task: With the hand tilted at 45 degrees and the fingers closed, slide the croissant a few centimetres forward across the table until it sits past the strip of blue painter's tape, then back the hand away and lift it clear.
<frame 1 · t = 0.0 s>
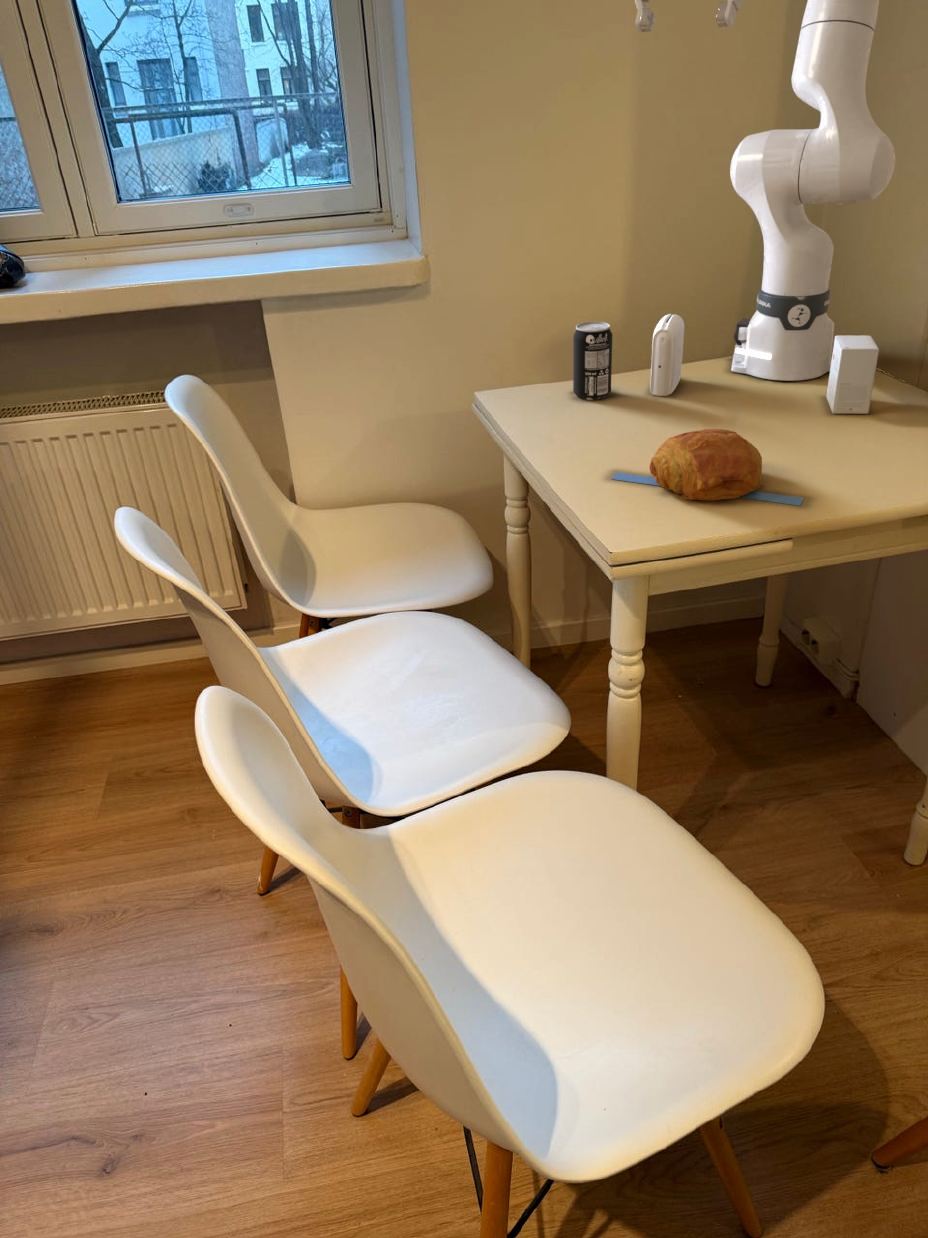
hand: (682, 26, 103), 54 cm above the table, tool tilted 30°, fingers open, 8 cm apart
beverage can: (592, 395, 165), on the table
photo printer: (665, 388, 166), on the table
croissant: (707, 484, 130), on the table, touching tape line
tape line: (704, 488, 129), on the table
small box: (846, 407, 153), on the table
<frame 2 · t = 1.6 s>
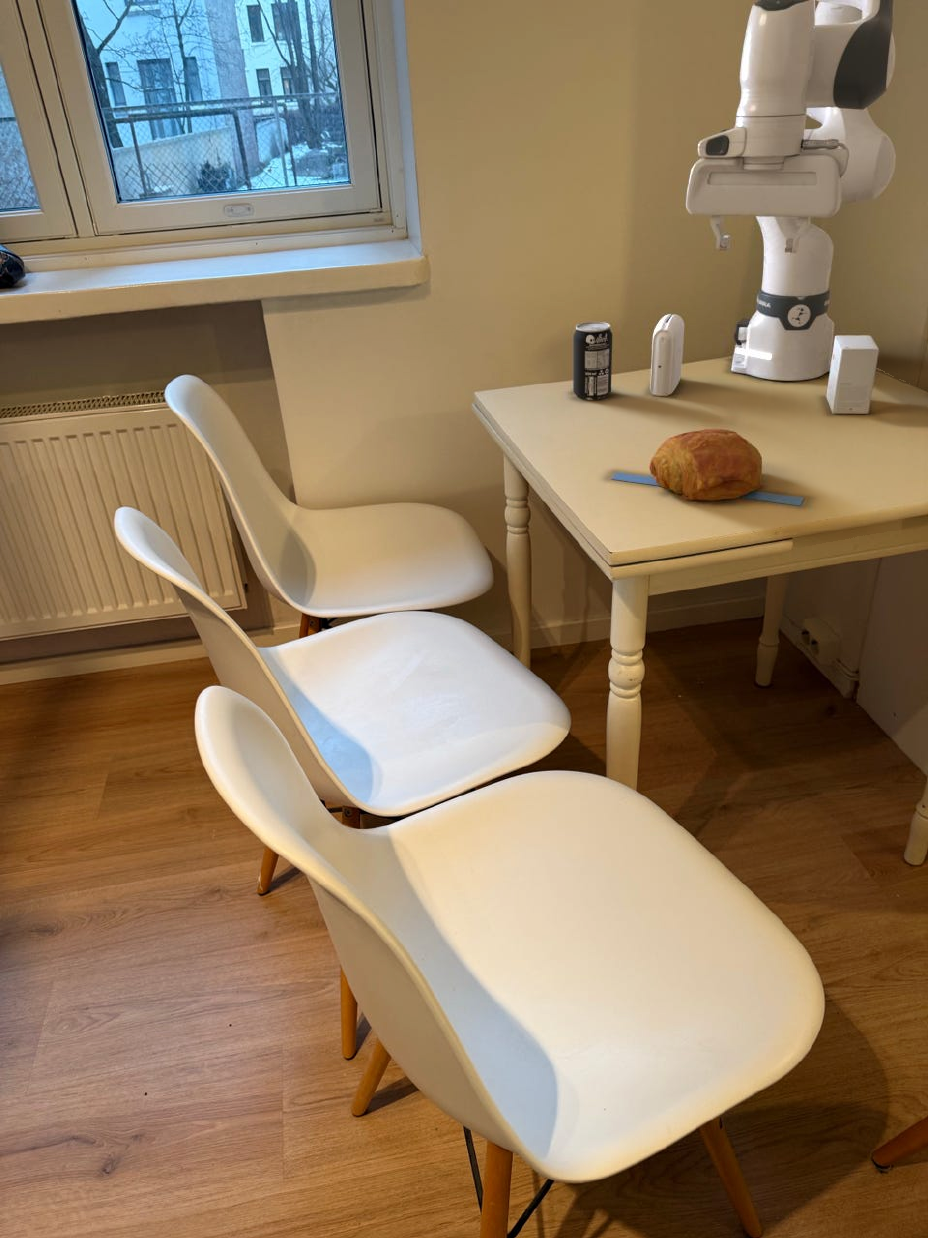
hand: (756, 250, 131), 27 cm above the table, tool pointing down, fingers open, 8 cm apart
nothing on the table moved.
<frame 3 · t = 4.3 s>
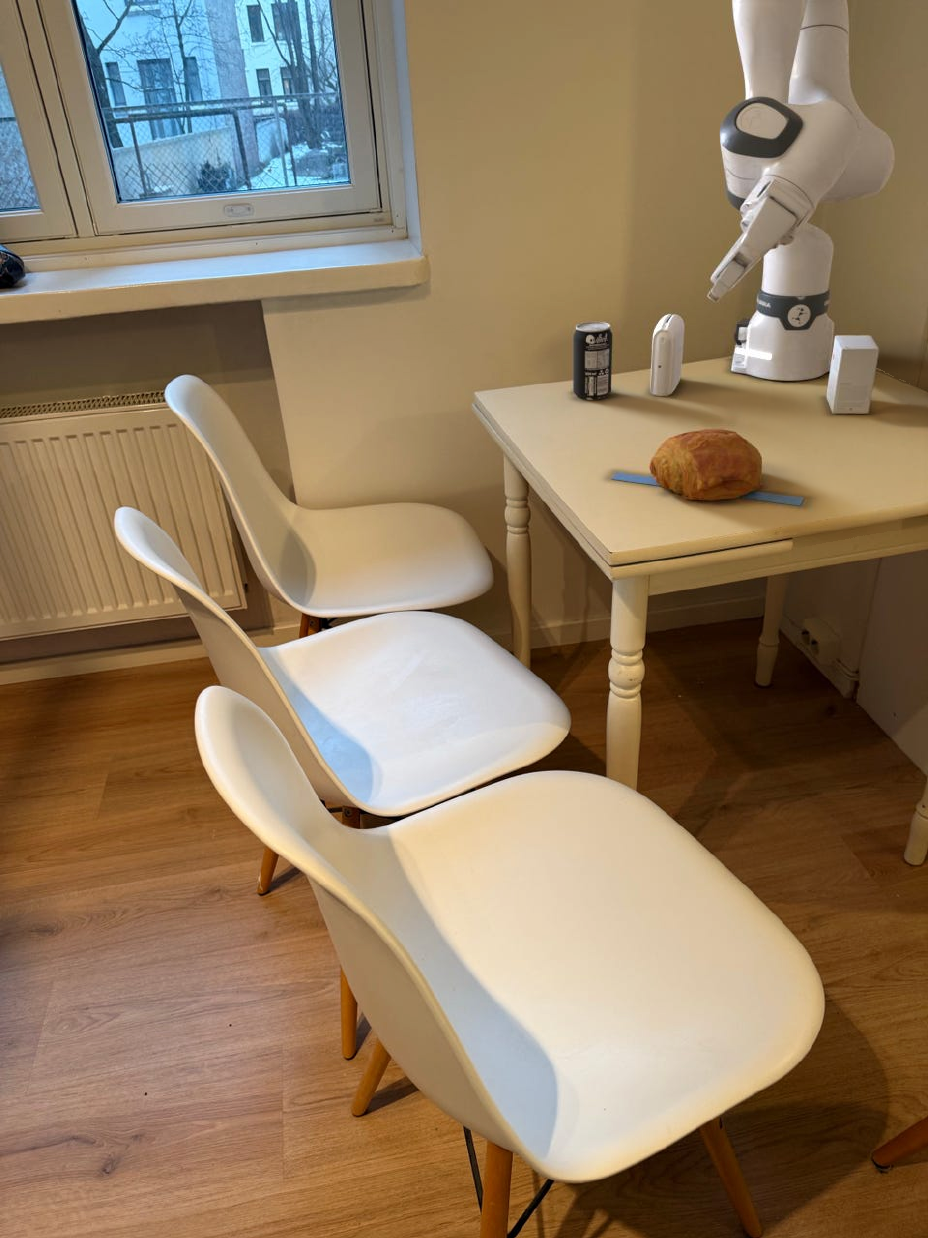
hand: (713, 297, 133), 21 cm above the table, tool tilted 45°, fingers closed
nothing on the table moved.
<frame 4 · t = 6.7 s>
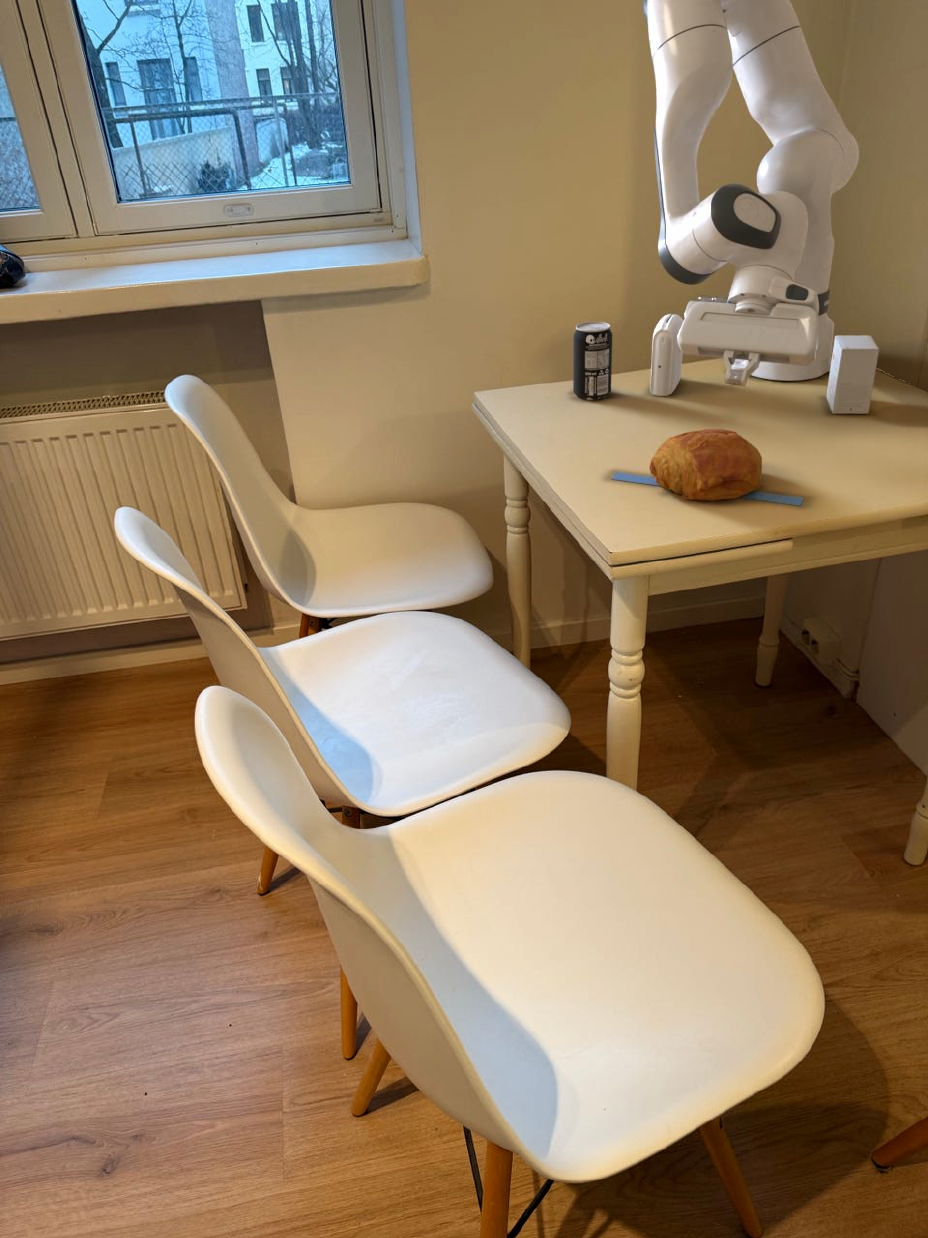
hand: (734, 383, 138), 9 cm above the table, tool tilted 45°, fingers closed
nothing on the table moved.
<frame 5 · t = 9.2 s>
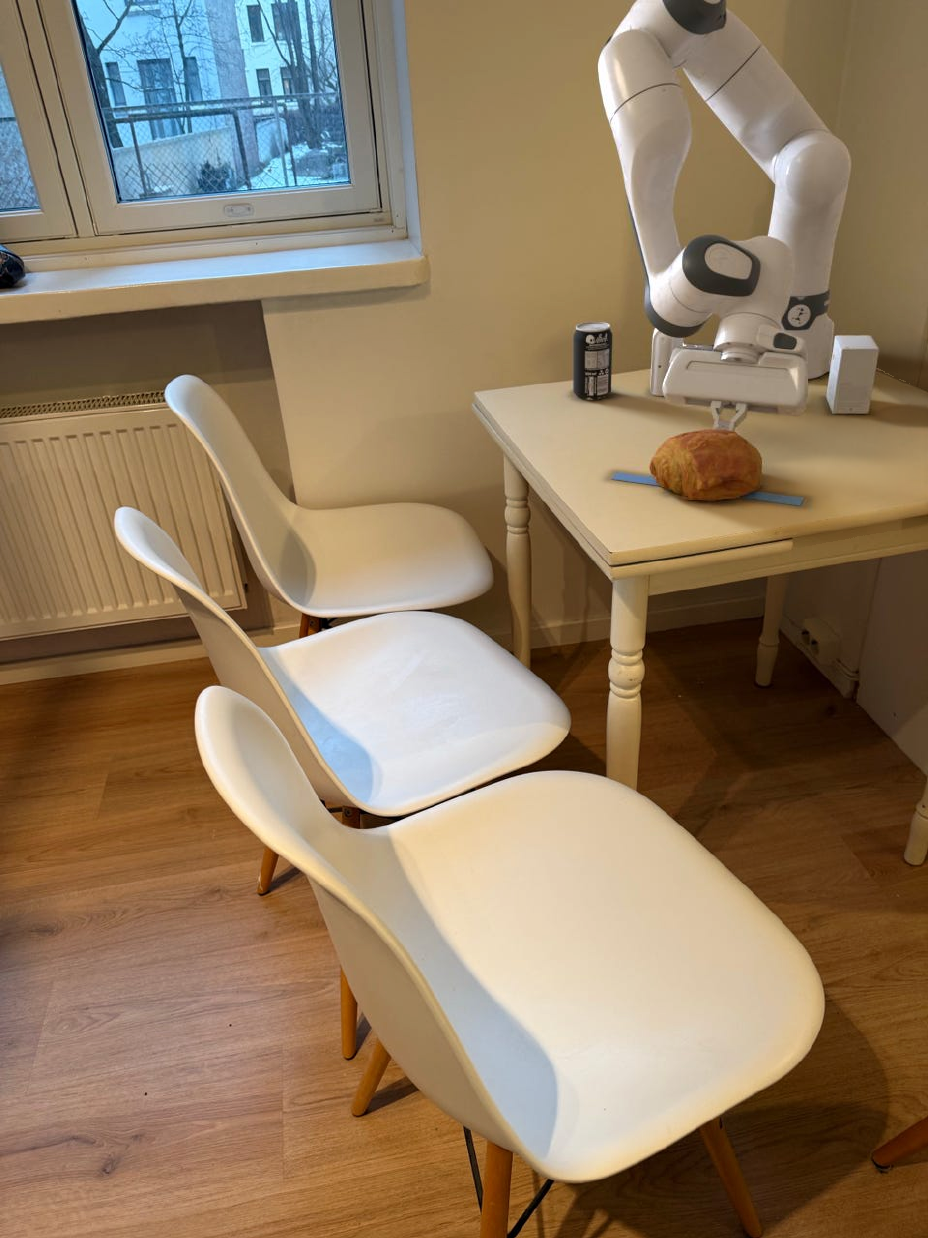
hand: (722, 434, 134), 4 cm above the table, tool tilted 45°, fingers closed
croissant: (707, 484, 130), on the table, touching gripper
everything else where it was.
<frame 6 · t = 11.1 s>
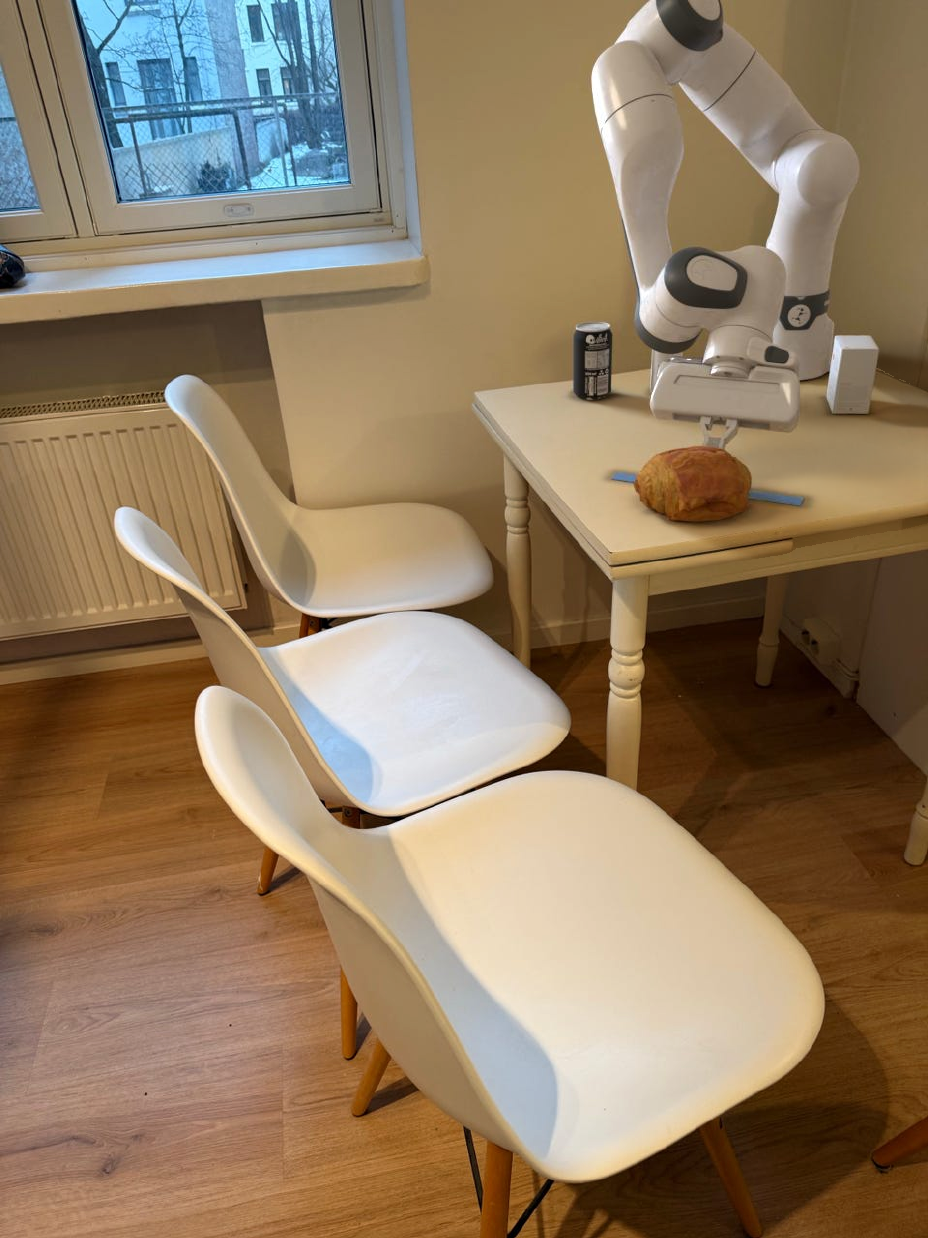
hand: (712, 452, 129), 4 cm above the table, tool tilted 45°, fingers closed
croissant: (694, 504, 125), on the table, touching gripper, tape line
everything else where it was.
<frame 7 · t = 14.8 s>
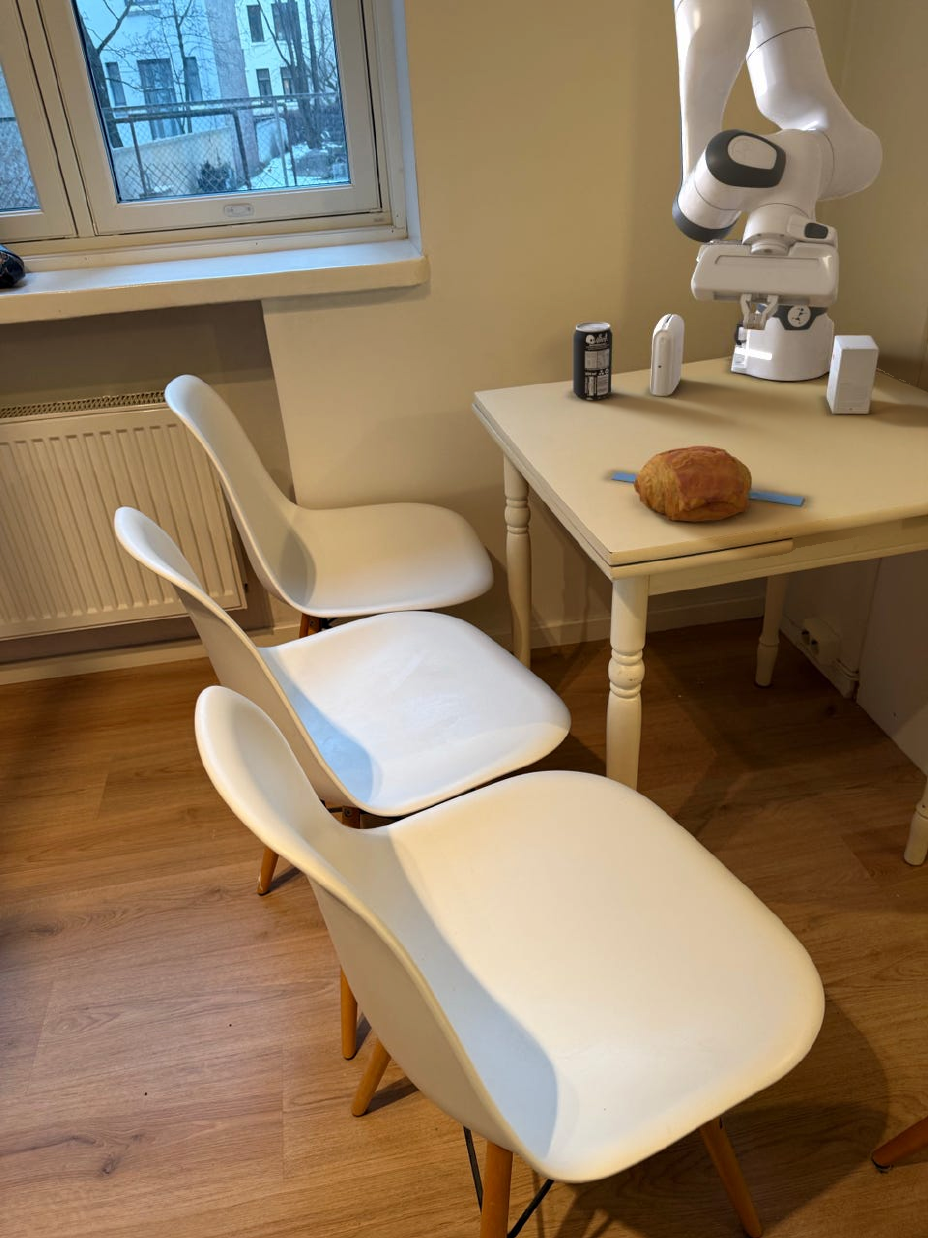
hand: (753, 327, 133), 17 cm above the table, tool tilted 45°, fingers closed
croissant: (694, 504, 125), on the table, touching tape line
everything else where it was.
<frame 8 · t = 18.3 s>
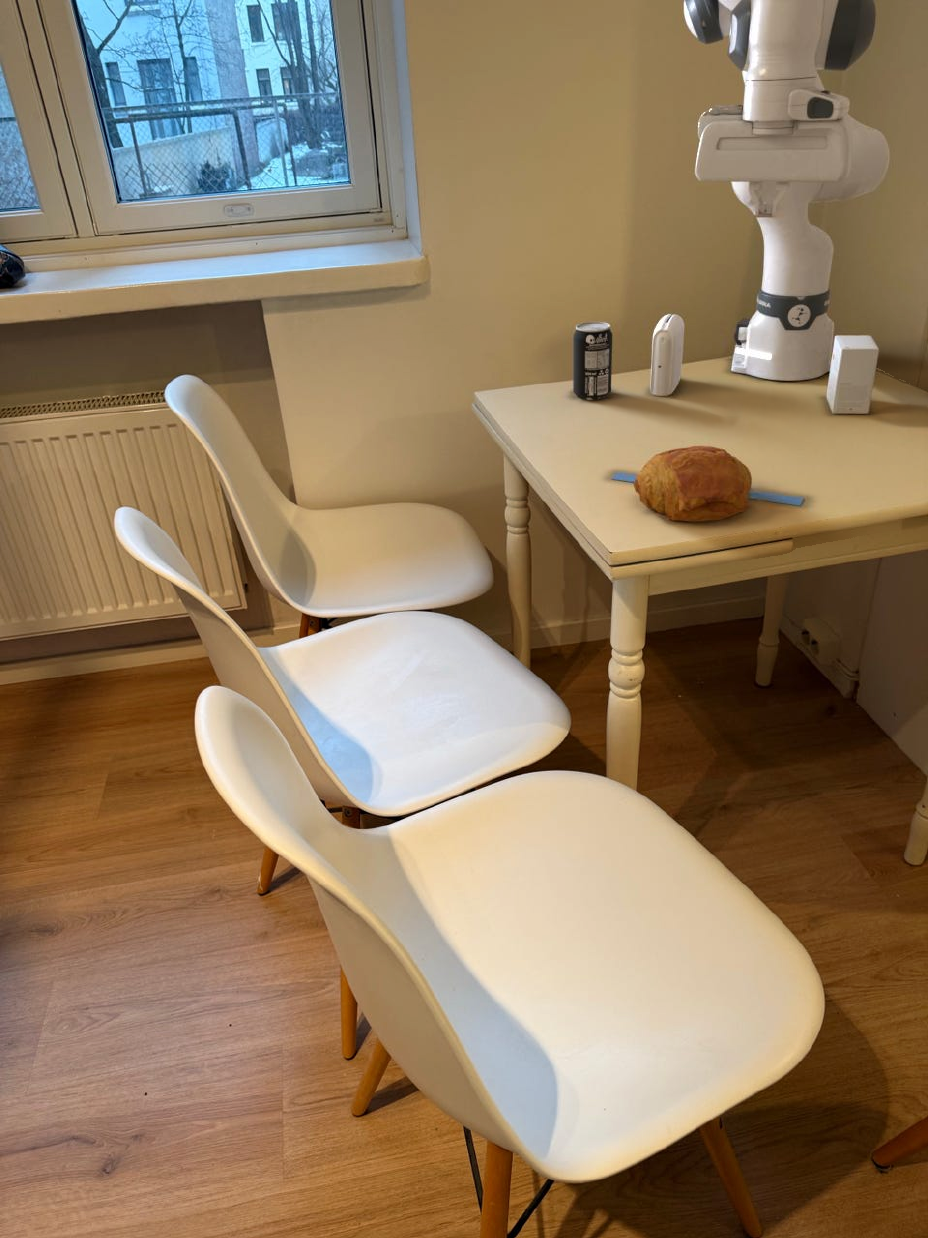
hand: (766, 216, 130), 31 cm above the table, tool pointing down, fingers closed
nothing on the table moved.
at the end: croissant moved 6.7 cm from its start; croissant inside the target area on the table beside the tape line (1.7 cm from its centre), on the table; croissant tilted 0° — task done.
